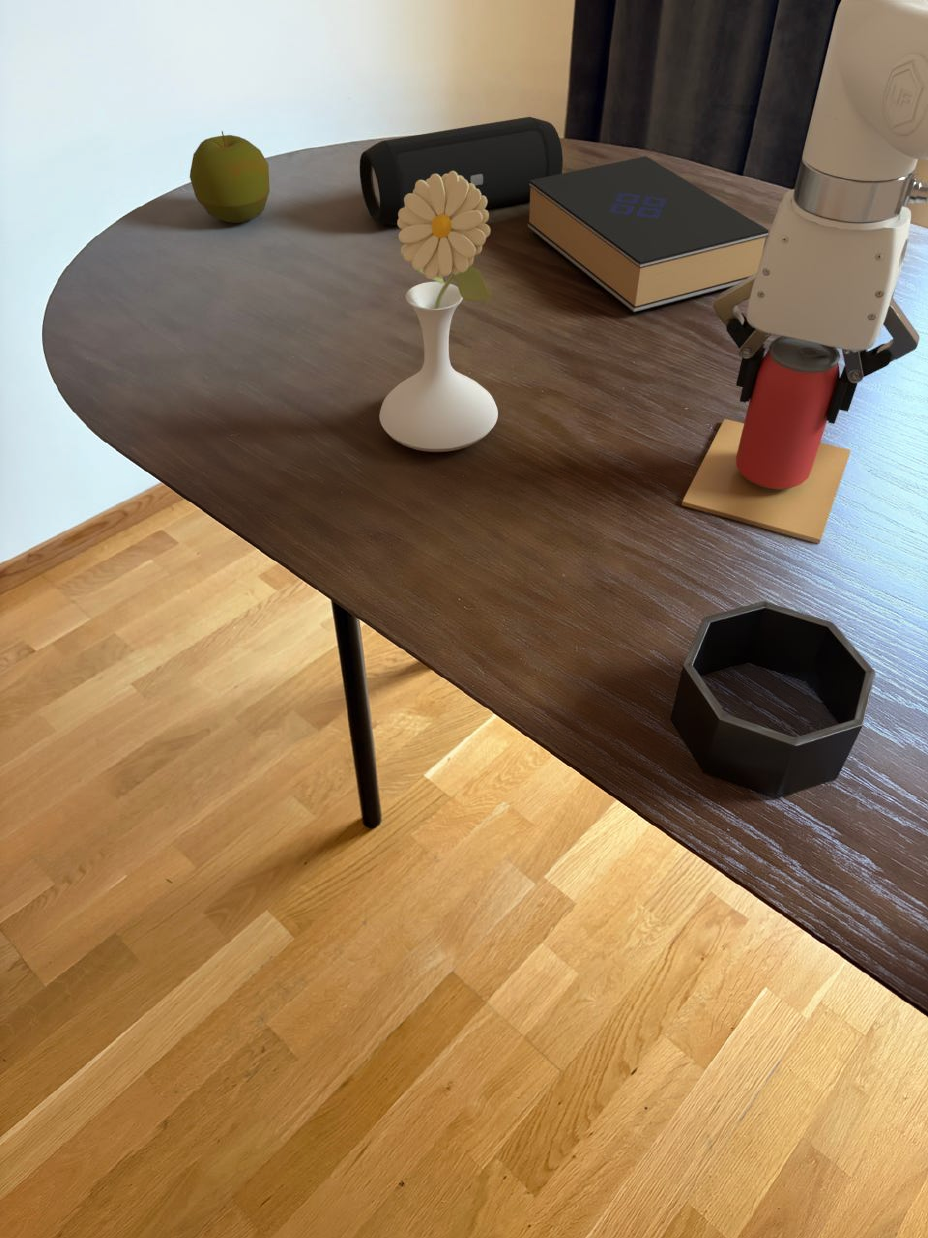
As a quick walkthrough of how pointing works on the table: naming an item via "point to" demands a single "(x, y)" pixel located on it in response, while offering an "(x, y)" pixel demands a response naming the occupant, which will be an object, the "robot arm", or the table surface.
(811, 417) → the beer can
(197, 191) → the apple
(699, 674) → the black octagonal pot
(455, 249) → the flower in vase
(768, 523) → the cork mat
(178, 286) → the table surface
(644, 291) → the book
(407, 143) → the portable speaker
